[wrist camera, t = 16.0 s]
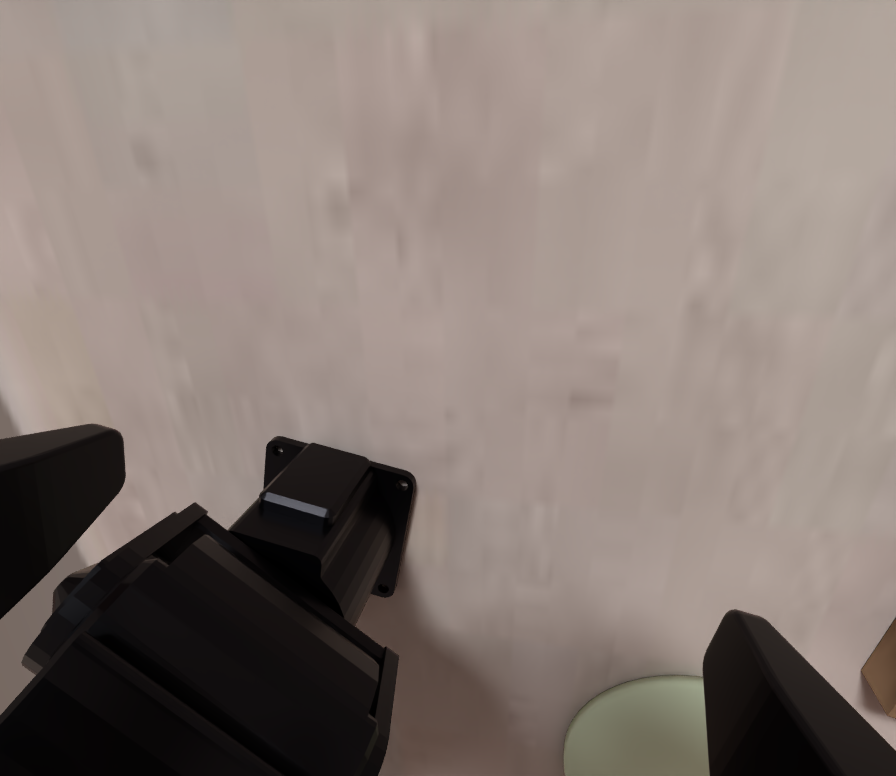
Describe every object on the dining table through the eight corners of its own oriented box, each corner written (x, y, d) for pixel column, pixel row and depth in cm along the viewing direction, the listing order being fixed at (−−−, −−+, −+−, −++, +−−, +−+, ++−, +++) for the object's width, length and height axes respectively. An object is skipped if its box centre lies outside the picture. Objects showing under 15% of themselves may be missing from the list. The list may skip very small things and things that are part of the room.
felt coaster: (762, 877, 27) (766, 892, 26) (538, 801, 28) (538, 814, 28) (870, 725, 23) (878, 739, 22) (601, 644, 24) (602, 655, 23)
